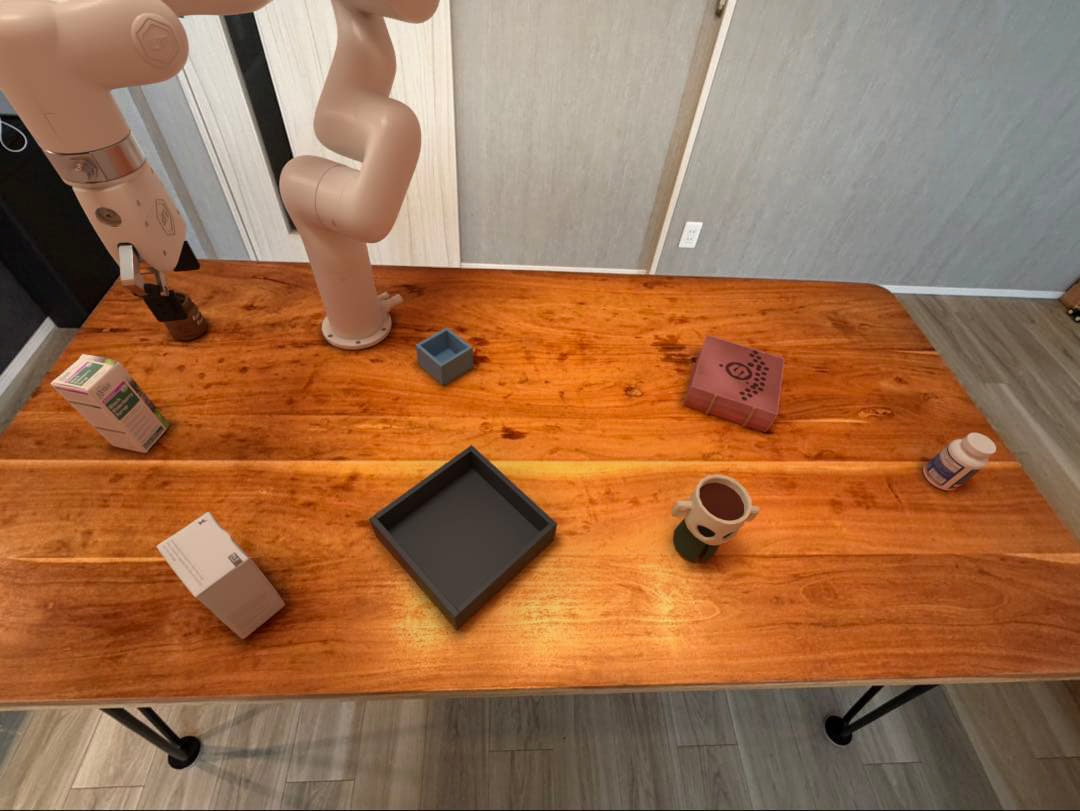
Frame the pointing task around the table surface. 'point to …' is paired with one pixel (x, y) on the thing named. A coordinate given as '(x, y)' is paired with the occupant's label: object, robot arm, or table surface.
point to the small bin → (445, 356)
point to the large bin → (463, 534)
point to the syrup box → (112, 402)
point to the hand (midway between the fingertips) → (181, 293)
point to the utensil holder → (187, 320)
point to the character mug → (711, 516)
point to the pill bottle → (959, 461)
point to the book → (736, 383)
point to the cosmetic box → (221, 575)
